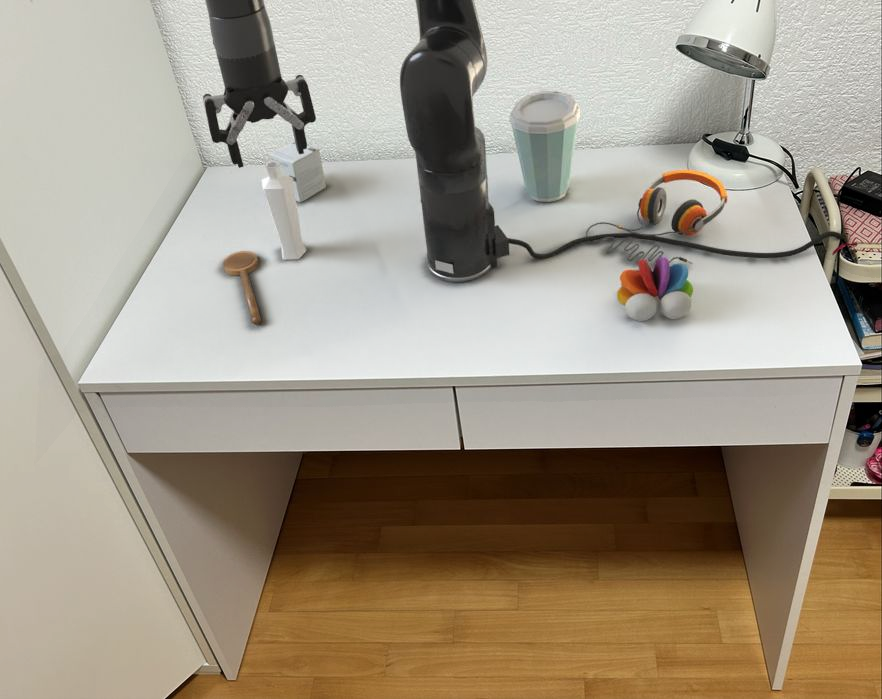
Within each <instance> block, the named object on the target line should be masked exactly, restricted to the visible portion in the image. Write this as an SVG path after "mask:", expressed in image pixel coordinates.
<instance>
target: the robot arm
mask: <svg viewBox="0 0 882 699" xmlns="http://www.w3.org/2000/svg"><path fill="white" fill-rule="evenodd" d="M204 2H205V6H206V8H207V9H206V10H207V14H208V18H209V29H210V34H211V38H212V45H213V47H214V50H215V54H216V57H217V62H218V66H219V70H220V74H221V78H222V81H223V82H222V83H223V85H224V90H223V91H224V92H223V94H218V95H212V94H211V93H205V94H204V95H203V96H202V101H203V105H204V110H205V115H206V120H207V124H208V129H209V134H210V137H211V141H212V142H213V143H215V144H220V143H224V144H226V146H227V149H228V153H229V157H230V160H231V163H232V164H233V165H234V166H235V165H237V166H238V169H240V168H244V167H245V165H244V163H243V158H242V154H241V151H240V150H241V149H240V148H239V143H238V138H239V136H240V133H241V132H242V131H243V130H244V127H245V126H246V123H247V122H249V123H250V124H253V123H259V122H260V121H262V120H272V119H275V117H276V116H277V115H278V116H279V117H281V119H283V120H284V121H286V122H288V123H289V124H290V125H291V129H292V134H293V139H294V140H295V144H296V148H297V151H298V153H299V154H304V150H303V149H307V144H308V142H307V137H306V132H305V128H306V126H307V125H308V124H311V123H312V124H313V123H314V122H316V120H317V116H316V112H315V108H314V104H313V101H312V96H311V92H310V89H309V84H308V83H307V81H306V79H305V77H304V76H303V75H302V74H297V75H296V76H295V78H293V79H290V80H286V81H285V80H284V79H283V76H282V73H281V68H280V63H279V57H278V54H277V48H276V43H275V39H274V32H273V29H272V24H271V19H270V17H269V14H268V12H267V9H266V5H265V0H204ZM415 6H416V7H415V8H416V14H417V20H418V21H417V22H418V32H419V33H418V34H419V41H418V43H417V44H416V45H415V46H414V47H413V48H412V50H410V52H409V53H408V54H407V55H406V57H405V58H404V60H403V62H402V64H401V67H400V73H399V90H400V99H401V105H402V110H403V111H402V112H403V117H404V123H405V128H406V133H407V134H406V135H407V138H408V141H409V144H410V146H411V147H412V149H413V151H414V153H415V161H416V162H415V163H416V169H417V177H418V186H419V194H420V204H421V212H422V220H423V229H424V230H423V231H424V237H425V246H426V258H427V268H428V271H429V272H430V274H431V275H432V276H434V277H435V278H437V279H439V280H442V281H445V282H449V283H464V282H470V281H474V280H477V279H479V278H481V277H483V276H484V275H486V274H487V273H489V271H490V270H492V269H494V268H496V267H498V259H500V258H504V257H506V256H510V245H516V246H519V247H522V248H524V249H526V251H527V253H528V254H529V255H530V257H532V258H534V259H536V260H546V259H550V258H553V257H555V256H557V255H559V254H562V253H564V251H567V250H568V249H570V248H572V247H574V246H576V245H581V244H583V243H588V242H589V243H590V241H596V240H599V239H602V238H605V237H614V238H615V239H625V238H627V237H632V238H633V239H635V240H636V239H637V240H646V241H651V242H652V241H654V242H658V243H663V244H668V245H674V246H679V247H683V248H689V249H694V250H697V251H698V250H699V251H703V252H708V253H711V254H712V253H713V254H717V255H722V256H731V257H737V258H738V257H739V258H750V259H781V258H787V257H792V256H795V255H799V254H801V253H803V252H805V251H807V250H809V249H810V248H812V247H814V246H815V245H816V244H818V243H819V242H821V241H822V240H824V239H827V238H830V237H831V238H832V237H833V238H836V239H837V240H844V239H845V237H844V236H843V234H841V233H840V232H838V231H834V230H833V231H832V230H829V231H826V232H823V233H821V234H819V235H817V236H815V238H813V239H811V240H810V241H808V242H807V243H805V244H803V245H801V246H799V247H797V248H795V249H791V250H786V251H778V252H776V251H775V252H753V251H742V250H741V251H740V250H732V249H726V248H725V249H724V248H718V247H713V246H708V245H704V244H699V243H695V242H690V241H686V240H679V239H673V238H669V237H663V236H660V235H659V236H644V235H638V234H633V233H630V232H614V233H613V232H612V233H611V232H610V233H602V234H595V235H587V236H588V237H586V236H583V237H580V238H576V239H573V240H571V241H569V242H567V243H565V244H563V245H561V246H560V247H559V248H557V249H554V250H553V251H550V252H548V253H537V252H535V250H534V249H533V248H532V246H531V245H530V244H529V243H527V242H525V241H523V240H521V239H516V238H511V237H508V236H507V235H506V234H505V232H504V231H503V230H502V229H501V227H500V226H499V225H498V224H497V225H496V217H495V209H494V206H492V204H491V203H490V200H489V184H488V182H489V181H488V168H487V167H488V166H487V150H486V137H485V135H484V133H483V132H482V130H481V128H479V127H477V126H476V121H475V113H474V101H473V100H474V98H473V97H474V96H475V94H476V93H477V91H478V90H479V88H480V87H481V86H482V84H483V83H484V80H485V77H486V75H487V70H488V52H487V48H486V43H485V40H484V35H483V31H482V27H481V23H480V20H479V15H478V12H477V7H476V4H475V0H415ZM289 91H290V92H292V93H293V94H294V96H295V97H299V99H300V103H301V107H302V111H301V112H300V113H298V112H296V111H295V110H294V109H292V107H290V106H289V105H288V104H287V103H286V102H285V99H286V97H287V96H288V93H289ZM224 105H226V106H227V107H228V108H229V109H230V110H232V112H231V114H230V117H229V120H228V123H227V126H226V127H225V129H220V126H219V120H218V116H217V114H220V113H221V112H222V108H223V106H224ZM609 239H610V240H613V239H612V238H608V239H607V240H609Z"/></svg>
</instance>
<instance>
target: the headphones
mask: <svg viewBox="0 0 882 699" xmlns="http://www.w3.org/2000/svg"><path fill="white" fill-rule="evenodd" d="M674 181H693V182H698V183H701V184H704V185H706V186H708V187H710V188H712V189H713V190H714V191H716V192H717V194H718V195H719V197H720V203H719V205H718V206H717V207H716V208H715V209H713V211H711V212H710V213H709V214H707V211H706V209H705V208H704V206H703V203H701V202H700V201H698V200H697V199H695V198H694V199H688V200H686V201H684V202H683V203H682V204H680V206H678V207H677V209H676V210H675V212H674V214H673V215H672V218H671V222H670V227H671V230H672V231H666V232H662V233H642V232H641V233H640V232H637V231H640V230H642V229H643V228H644V224H643V223H642V220H641V218H642V219H644V220H646V221H648V222H649V223H650V224H653V225H657V224H658V223H660V222H661V220H662V219H663V217H664V214H665V212H666V206H667V201H668V200H667V199H668V198H667V192H666V190H665V188H664V187H660V186H659V185H662V184H667V183H671V182H674ZM727 202H728V194H727V190H726V187H725V185H724V184H723V183H722V182H721V181H720V180H719V179H718V178H717V177H714V176H713V175H711V174H708V173H705V172H703V171H699V170H693V169H676V170H670V171H667V172H664V173H662V174H661V176H659V177H657V178H656V179H654V180H653V181H652V182H651V183H650V184H649V186H648V187H647V189H646V190H645V192H644V193H643V194H642V197H640V199H639V201H638V209H637V212H636V218H637V221H638V222H639V223H640V227H639V228H635V229H634V228H633V229H632V228H626V227H623V226H621V225H619V224H614V223H611V222H605V221H603V222H602V221H601V222H596V223H593V224H591V225H589V227H588V228H587V229H586V232H585V237H588V236H589V235H588V233H589V230H590V229H591V228H593V227H596V226H597V225H609V226H612V227H614V228H616V229H618V230H622V231H625V232H626V233H633V234H638V235H644V236H659V237H660V236H664V235H667V234H668V235H669V234H677V235H681V236H682V235H683V236H687V237H690V236H691V237H692V236H694V235H695V234H697V233H699V231H701V230H702V228H703V227H705V225H707V224H708V223H710V222H711V221H712V220H714V219H715V218H716V217H717V216H718V215H720V214H721V212H723V209H724V208H725V206H726V204H727ZM639 213H640V214H639ZM639 215H640V216H641V218H640V216H639ZM608 238H612V239H611V240H613V241H612V243H611V244H610V246H609V247H608V248H607V250H606V253H607V254H611V253H613V252H614V251H615V250H616V249H617V248H618V247H619V246H621V245H622V244H623V243H624V242H625V241H627V240H631V241H630V242H629V243H628V244H627V245H625V247H624V248H623V251H625V252H629V251H632V252H630V254H628V256H627V258H626V260H627V261H628V262H632V261H634V260H635V259H636V258H637V259H636V260H635V263H636V264H638V262H639V260H641V259H645V258H646V257H647V255H649V254H650V253H651V252H652V250H654V249H655V248H656V247H657V248H656V249H655V250H654V251H653V252H652V253H651V254H650V255H649V257H648V258H647V262H652V261H653V260H654V259H655V258H656V257H657V256H658V255H659V256H658V257H657V258H656V259H655V260H654V262H653V267H654V266H655V264H656V261H657V260H658V258H660V257H663V255H664V251H662V250H660V248H661V246H660V245H659V244H654V245H653V246H652V247H650V249H649V250H648V251H646V254H645V251H642V250H641V251H639V252H638V253H637V254H635V252H636V251H637V250H638V249H639V248H640V244H639V243H635V244H634V245H632V246H631V247H630V248H628V247H629V246H630V245H631V244H632V243H634V238H632V237H627V238H623V240H621V241H620V242H619V243H618V244H617V245H615V246H614V244H615V243H616V238H614V237H605V238H602V239H599V240H595V241H589V243H598V242H601V241H604V240H609V239H608ZM613 246H614V247H613ZM612 247H613V248H612ZM659 250H660V251H659ZM633 254H635V255H634V256H633V257H632V258H630V257H631V256H632V255H633ZM639 255H640V256H639ZM638 256H639V257H638ZM677 259H678V260H679V261H681V262H683V263H687V264H690V265H693V263H694V262H692V261H690V260H688V259H687V258H684V257H682V256H674V257H672V258H671V259H670V260H669V264H671V263H672V262H673V261H674V260H677Z"/></svg>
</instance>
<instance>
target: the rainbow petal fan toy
mask: <svg viewBox="0 0 882 699" xmlns="http://www.w3.org/2000/svg"><path fill="white" fill-rule="evenodd" d="M657 258H658V257H657ZM669 261H670V260H669V258H667V257H665V256H661V257H660V258H658V260H657V261H656V263H655V266H654V265H653V270H652V268H651V265H650V264H649V263H648V262H649V261H648V260H646V259H645V258H644V259H642V258H640V259H639V260H638V263H637V266H638V267H631V268H629V269H625V270H623V271H622V272H621V273H620V276H619V280H620V287H619V288H618V290H617V292H616V298H617V301H618V303H620V304H621V305H622V306H624V307H625V308H624V309H625V312H626V314H627V315H628V317H630V318H631V319H633V320H634V321H638V322H644V321H648V320H649V319H652V318H653V317H654V315H655V314H656V313H657V310H658V309H659V311H660V312H661V314H662V315H663V316H664V317H666V318H668V319H671V320H678V319H681V318H683V317H685V316H686V315H687V314H688V313H689V311H690V310H691V307H692V299H691V297H692V295H693V294H694V286H693V284H692V282H691V281H690V280H689V279H688V277H689V268H688V267H687V266H686V265H685V264H684V263H674V264H671V263H669ZM657 297H658V300H659V302H658V301H657V299H656V298H657Z"/></svg>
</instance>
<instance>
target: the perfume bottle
mask: <svg viewBox="0 0 882 699" xmlns="http://www.w3.org/2000/svg"><path fill="white" fill-rule="evenodd" d="M264 166H265V169H266V171H267V175H268V176H266V177H264V178H263V179H261V184H262V190H263V194H264V196H265V199H266V203H267V205H268V208H269V212H270V215H271V218H272V221H273V224H274V227H275V230H276V233H277V237H278V239H279V243H280V245H281V257H282V258H281V259H282V260H284V261H285V260H299V259H301V258H302V256H303V255H304V254H305V253H306V252H307V249H306V247H305V245H304V243H303V242H302V234H301V227H300V218H299V212H298V204H297V201H296V197H295V190H294V183H293V178H291V177H288V176H286V175H284V174H281V170H280V163H279V162H277V161H268V162H266V163H265V164H264Z"/></svg>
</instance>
